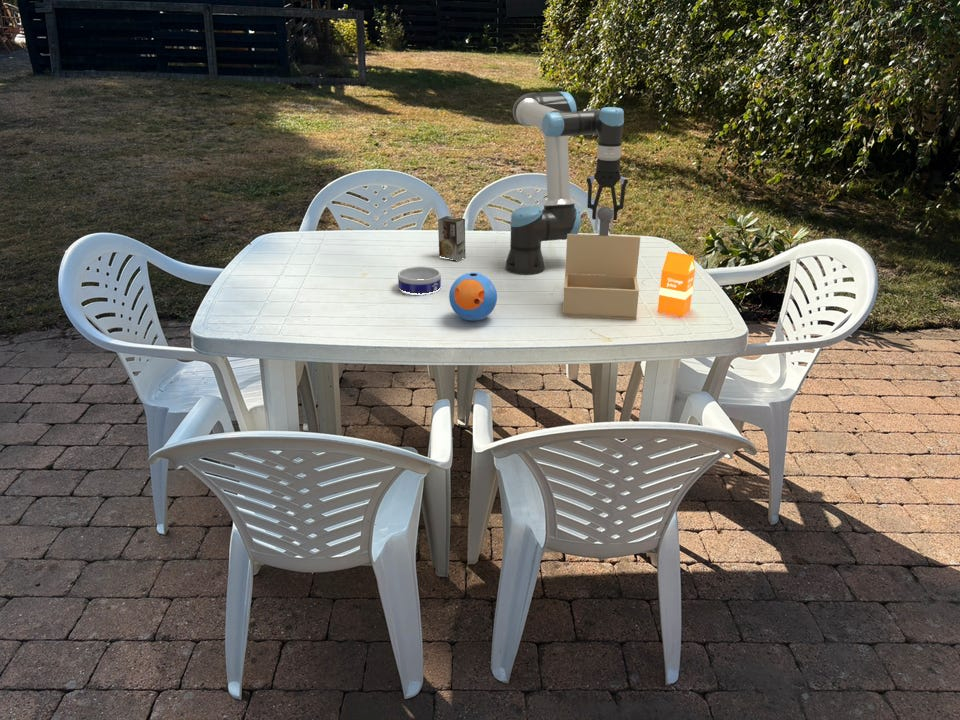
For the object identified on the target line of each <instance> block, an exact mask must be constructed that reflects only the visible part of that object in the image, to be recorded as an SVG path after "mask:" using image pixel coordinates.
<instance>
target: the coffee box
mask: <svg viewBox="0 0 960 720" xmlns="http://www.w3.org/2000/svg"><path fill="white" fill-rule="evenodd" d="M437 227H438V229H437V230H438V231H437V233H438V256H441V257H445V258H449V259H453V260H457V261H458V260H460V259H462V258H464V259H466V218H461V217H455V216H448V215H446V216H443V217H441V218H439V219H437ZM462 260H463V259H462ZM460 261H461V260H460ZM458 262H459V261H458Z"/></svg>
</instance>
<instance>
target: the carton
mask: <svg viewBox="0 0 960 720" xmlns="http://www.w3.org/2000/svg"><path fill="white" fill-rule="evenodd" d="M639 289H640V288H639V284H638V277H637V276H635V277H634V276H611V275H590V274H567V273H564V283H563V299H562V301H563V302H562V317H570V316H571V317H573V318H574V317H575V318H576V317H577V318H590V317H594V318H593V319H596V318H597V319H611V318H615V319H614V320H634V321H635V320H637V313H638V303H639V295H640V294H639V293H640V290H639Z"/></svg>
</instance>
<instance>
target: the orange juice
mask: <svg viewBox="0 0 960 720" xmlns="http://www.w3.org/2000/svg"><path fill="white" fill-rule="evenodd" d="M695 265H696V264H695V258H694V255H691V254H685V253H681V252H673V251H669V250H668V251H667V253H666V256H665V260H664V263H663V266H662V270H661V276H660V284H659V286H660V287H659V293H658V295H659V296H658V304H657V312H659V313H664V314H668V315H671V316H676V317H684V316H685V315H686V314H687V313H688V312H689V311H690V310H691V305H692V296H693V290H694V281H695V279H694V278H695V273H696V266H695Z"/></svg>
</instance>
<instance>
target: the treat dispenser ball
mask: <svg viewBox="0 0 960 720" xmlns="http://www.w3.org/2000/svg"><path fill="white" fill-rule="evenodd" d="M448 294H449V296H448V299H449V304H450V307H451V308H452V309H451V310H452V311H453V312H454V313H455V314H456V316H459V318H461V319H463V320H465V321H470V322H472V321H473V322H476V321H481V320H483V319H485V318H487V317H488V316H489V315H491V314H492V312H493V311H494V309H495V307H496V305H497V301H498V291H497V288H496V286H495V284H494V283H493V281H492V280H491V279H490V278H489V277H488V276H487V275H484V274H482V273H479V272H467V273H465V274H462V275H460V276H459V277H458V278H456V279H455V280H454V282H453V283H452V285H451V286H450V289H449V293H448Z"/></svg>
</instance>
